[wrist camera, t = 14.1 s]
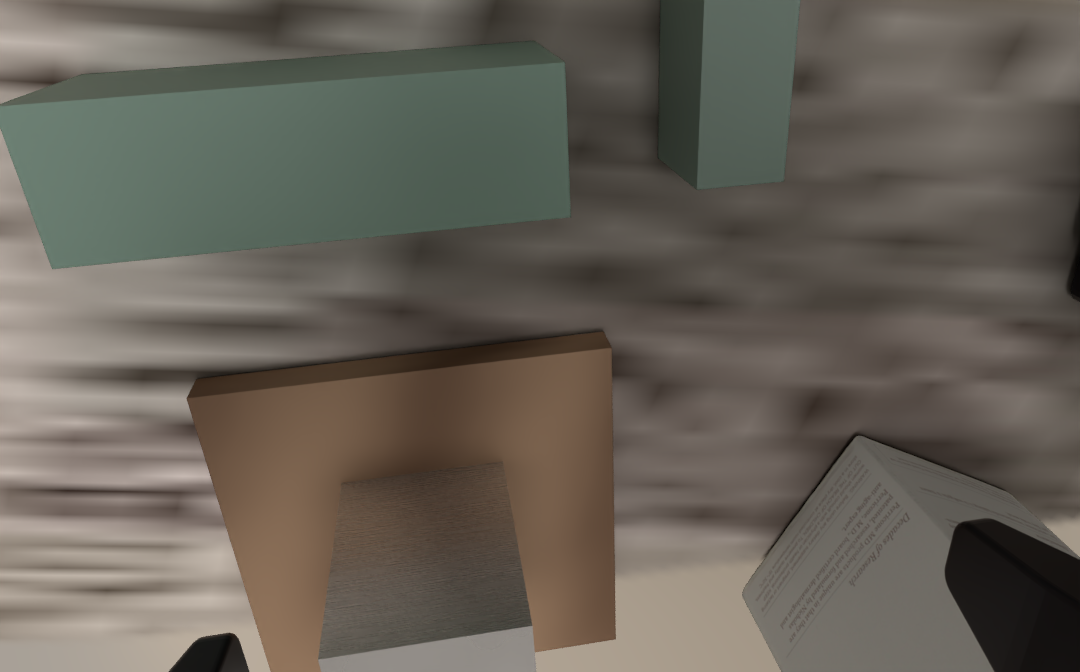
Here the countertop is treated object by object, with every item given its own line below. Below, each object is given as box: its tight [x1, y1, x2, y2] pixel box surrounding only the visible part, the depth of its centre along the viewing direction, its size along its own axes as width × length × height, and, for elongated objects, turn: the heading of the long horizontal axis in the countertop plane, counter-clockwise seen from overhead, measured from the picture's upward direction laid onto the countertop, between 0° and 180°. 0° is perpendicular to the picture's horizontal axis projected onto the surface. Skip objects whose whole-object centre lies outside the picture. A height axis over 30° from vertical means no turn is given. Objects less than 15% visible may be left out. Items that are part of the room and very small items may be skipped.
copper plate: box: [187, 332, 616, 672], centre depth 23 cm, size 11×11×1 cm
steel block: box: [318, 461, 536, 672], centre depth 20 cm, size 4×4×6 cm
